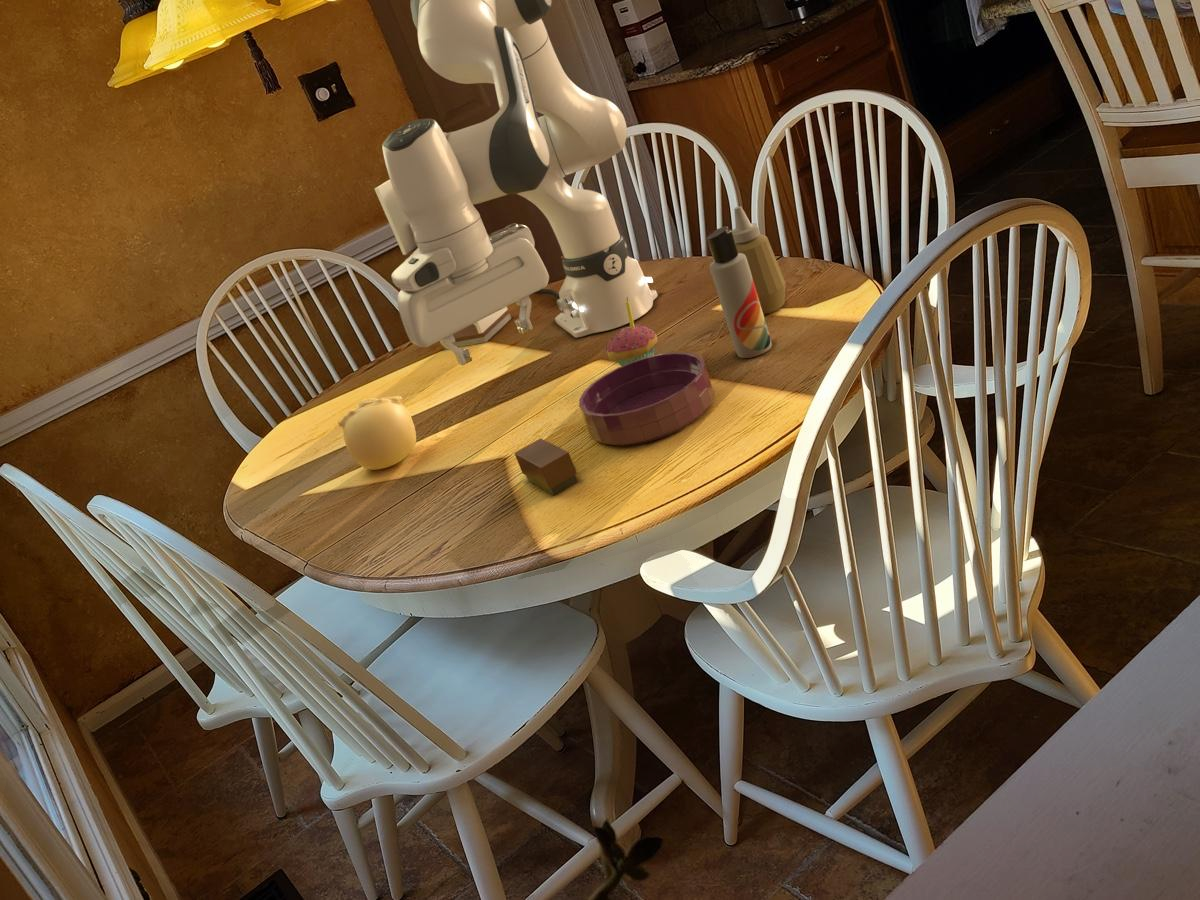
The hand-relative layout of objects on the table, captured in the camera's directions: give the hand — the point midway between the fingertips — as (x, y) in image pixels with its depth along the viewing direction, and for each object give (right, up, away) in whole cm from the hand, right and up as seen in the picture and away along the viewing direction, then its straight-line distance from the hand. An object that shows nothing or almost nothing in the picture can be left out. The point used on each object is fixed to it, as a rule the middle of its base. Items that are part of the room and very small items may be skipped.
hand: (496, 346), depth 147 cm
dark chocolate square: (+7, -18, +8) cm, 21 cm away
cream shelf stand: (-11, +10, +84) cm, 85 cm away
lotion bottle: (+38, +2, +25) cm, 45 cm away
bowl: (+22, -9, +17) cm, 28 cm away
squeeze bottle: (+42, +10, +39) cm, 58 cm away
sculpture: (-21, -15, +37) cm, 45 cm away
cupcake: (+20, -1, +35) cm, 41 cm away
